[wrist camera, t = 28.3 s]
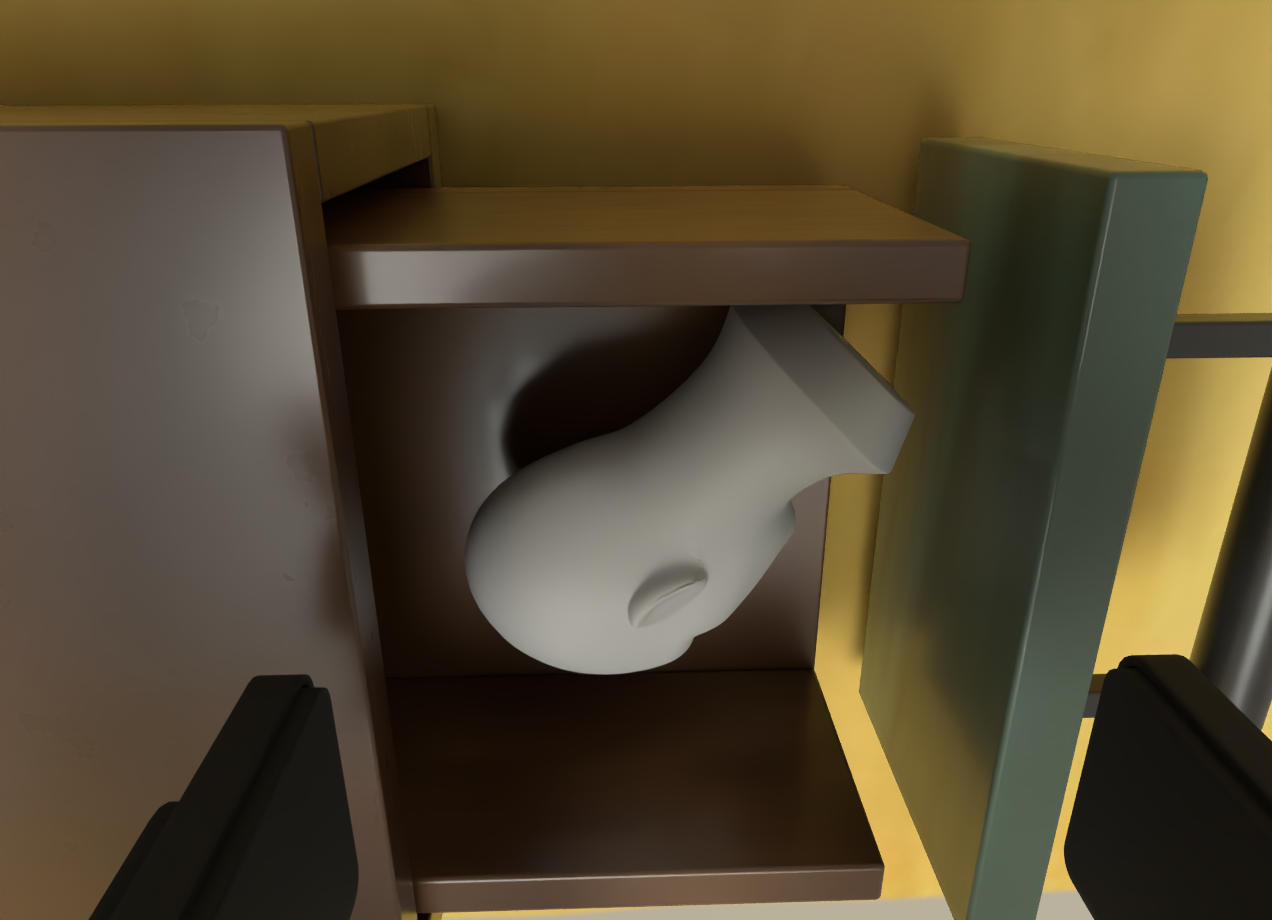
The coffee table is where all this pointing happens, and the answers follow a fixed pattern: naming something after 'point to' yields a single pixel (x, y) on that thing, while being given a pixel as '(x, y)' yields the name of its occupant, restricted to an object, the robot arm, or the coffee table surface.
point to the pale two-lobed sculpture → (680, 497)
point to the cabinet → (179, 471)
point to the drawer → (791, 587)
